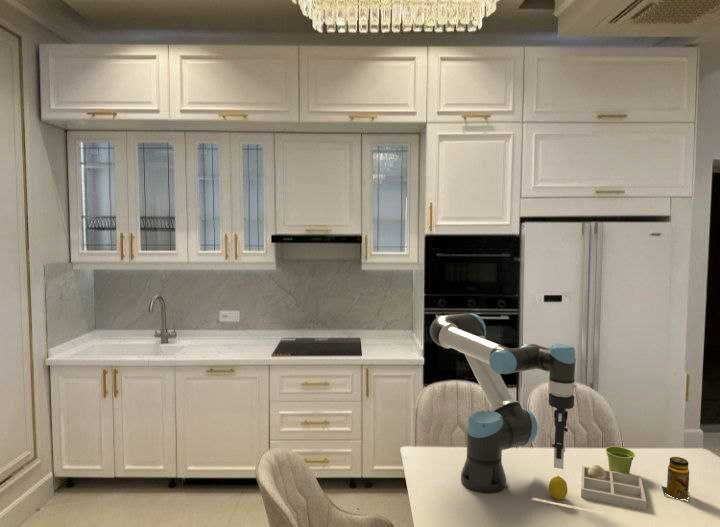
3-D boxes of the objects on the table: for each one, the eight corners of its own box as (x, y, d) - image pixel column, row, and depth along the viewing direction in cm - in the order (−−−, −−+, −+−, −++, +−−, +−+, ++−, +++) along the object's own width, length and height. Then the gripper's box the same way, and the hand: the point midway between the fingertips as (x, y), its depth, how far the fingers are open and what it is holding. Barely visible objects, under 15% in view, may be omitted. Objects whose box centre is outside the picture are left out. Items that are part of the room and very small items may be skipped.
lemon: (568, 505, 163) (569, 481, 163) (549, 503, 164) (550, 479, 164) (565, 497, 168) (566, 473, 168) (547, 495, 170) (548, 471, 169)
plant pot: (640, 480, 180) (641, 456, 180) (615, 482, 179) (616, 458, 178) (622, 468, 190) (623, 445, 189) (598, 470, 188) (599, 447, 188)
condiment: (689, 502, 166) (691, 466, 165) (659, 495, 170) (661, 460, 170) (688, 492, 172) (690, 457, 172) (659, 486, 177) (660, 452, 176)
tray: (580, 499, 167) (581, 488, 167) (581, 475, 184) (581, 465, 184) (645, 512, 160) (646, 501, 159) (640, 486, 176) (640, 476, 176)
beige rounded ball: (587, 483, 176) (588, 467, 176) (587, 476, 181) (588, 461, 181) (606, 487, 174) (606, 470, 173) (605, 480, 179) (606, 464, 179)
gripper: (573, 407, 151) (571, 478, 152) (575, 385, 174) (573, 446, 175) (546, 403, 154) (544, 473, 155) (551, 382, 177) (549, 443, 178)
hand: (559, 459), depth 165 cm, fingers open, 13 cm apart
